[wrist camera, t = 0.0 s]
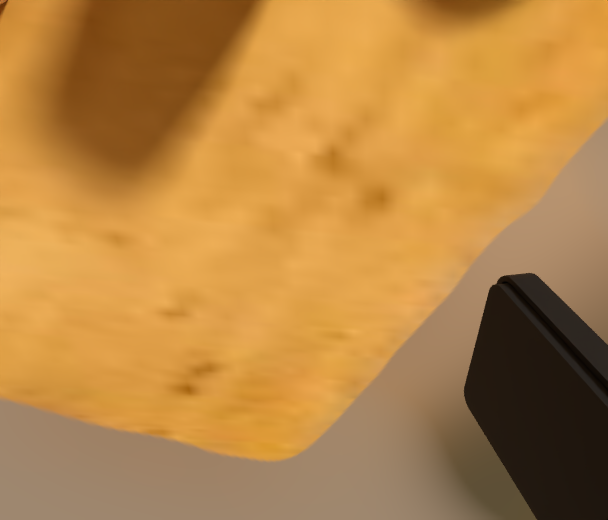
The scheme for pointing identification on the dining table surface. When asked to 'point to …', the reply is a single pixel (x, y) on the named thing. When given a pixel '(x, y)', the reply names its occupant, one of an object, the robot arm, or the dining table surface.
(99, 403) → the dining table surface
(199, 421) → the dining table surface
